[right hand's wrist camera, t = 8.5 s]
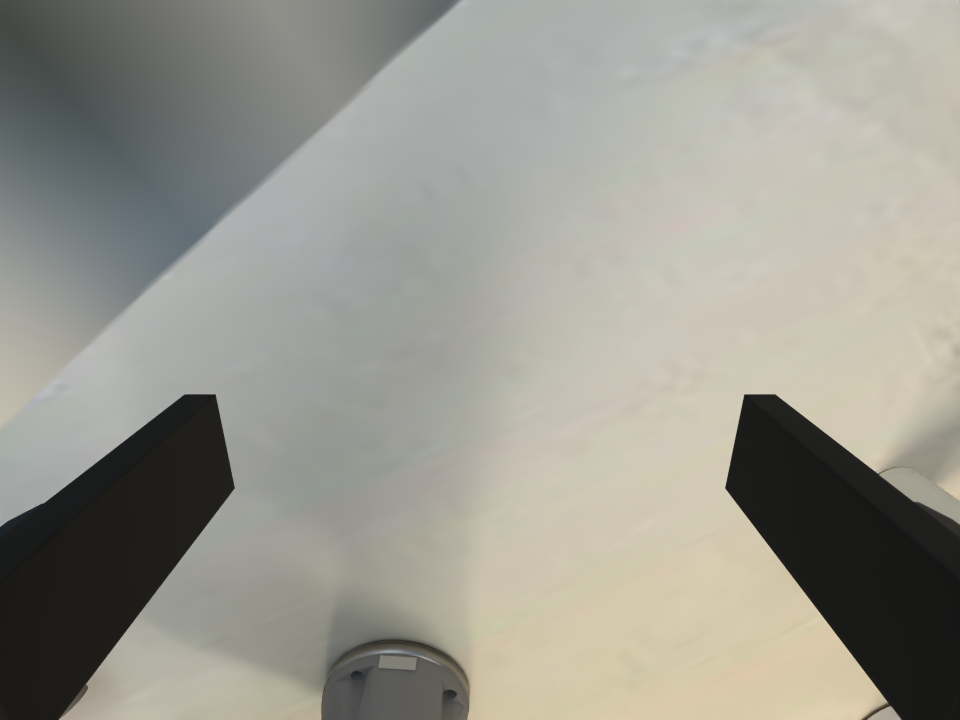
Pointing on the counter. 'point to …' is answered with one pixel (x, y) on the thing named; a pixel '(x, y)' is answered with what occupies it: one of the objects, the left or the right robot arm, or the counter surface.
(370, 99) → the counter surface
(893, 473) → the bottle
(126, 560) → the right robot arm
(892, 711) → the left robot arm
